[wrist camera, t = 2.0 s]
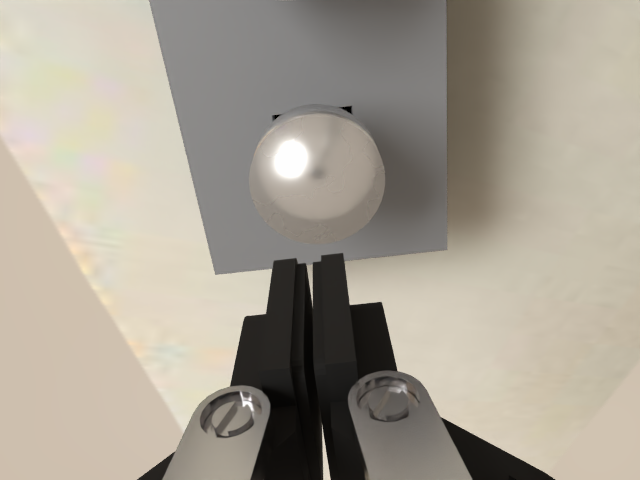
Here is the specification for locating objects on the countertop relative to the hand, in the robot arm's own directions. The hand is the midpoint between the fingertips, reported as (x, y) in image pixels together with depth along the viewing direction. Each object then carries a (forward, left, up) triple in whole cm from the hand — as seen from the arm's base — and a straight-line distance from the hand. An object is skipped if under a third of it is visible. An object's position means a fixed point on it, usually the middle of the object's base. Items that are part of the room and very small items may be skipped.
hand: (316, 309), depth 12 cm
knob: (0, 0, -15) cm, 15 cm away
